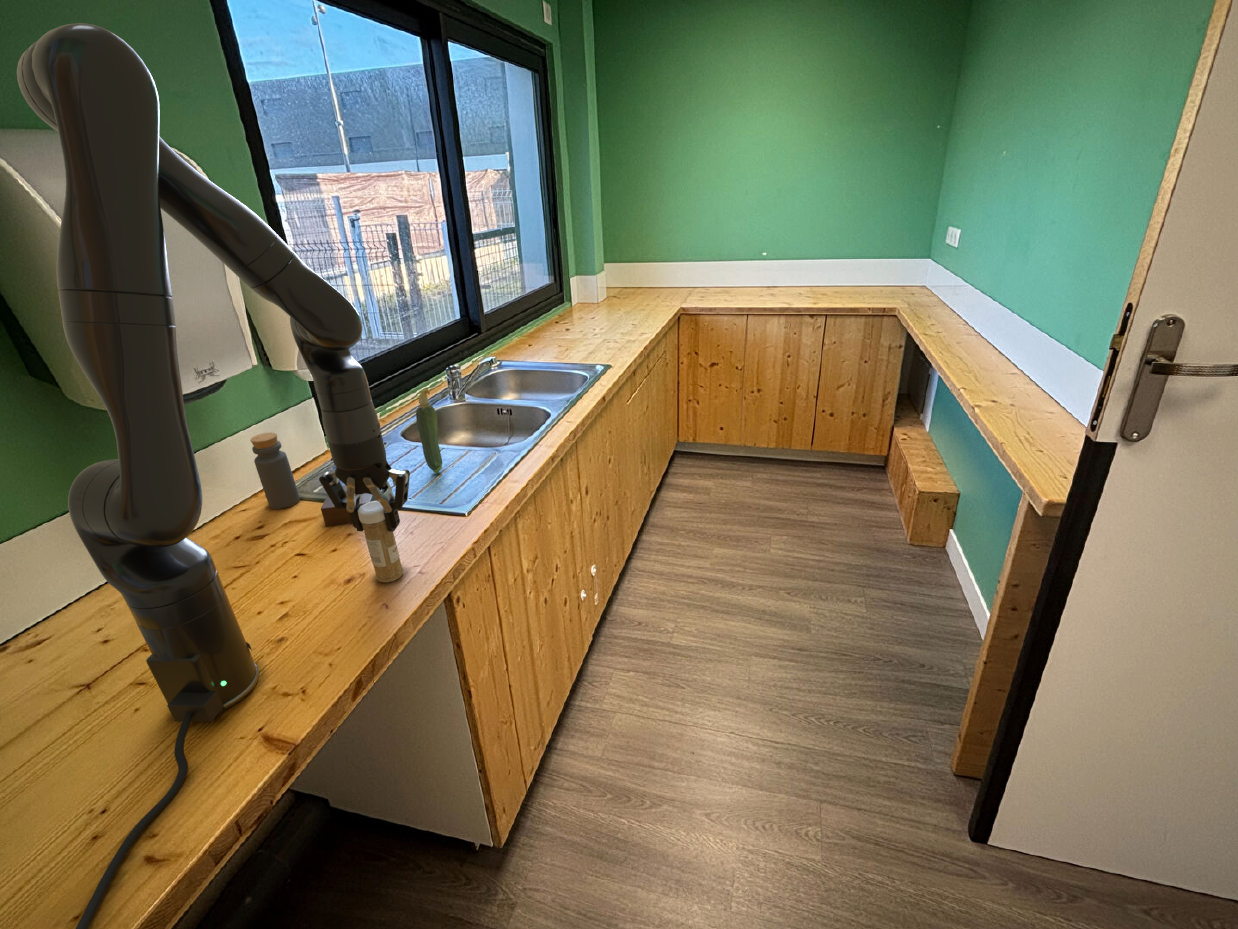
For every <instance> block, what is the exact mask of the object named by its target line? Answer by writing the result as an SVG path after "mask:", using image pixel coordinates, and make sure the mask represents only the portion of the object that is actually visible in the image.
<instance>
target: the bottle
mask: <svg viewBox="0 0 1238 929" xmlns="http://www.w3.org/2000/svg"><path fill="white" fill-rule="evenodd" d="M250 442H251V444H252V445H253V446H252V448H251V450H252V452H253V454H255V455H257V456H256V457H255V458H254V460H253V462H254V466H255V470H256V471H257V474H258V478H259V480H260V483H261V487H262V489H263V492H264V496H265V498H266V501H267V504H268V506H269V508H270V509H274V510H279V509H280V510H281V509H286V508H290V507H293V506H294V505H296V504H298V503H299V501H300V499H301V498H300V494H299V491H298V486H297V484H296V481H295V477H294V475H293V471H292V467H291V465H290V462H289V458H288V455H287V453H286V452H285V451H283V450H280V449H281V448H282V442H281V441H280V440H278V434H277V433H276V432H262V433H259V434H256V435H254V436H252V437H251V438H250Z"/></svg>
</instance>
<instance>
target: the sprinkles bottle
mask: <svg viewBox="0 0 1238 929" xmlns="http://www.w3.org/2000/svg"><path fill="white" fill-rule="evenodd" d="M384 512H385V510H384V508H383V507H382V505H381V504H380V502H378V501H372V502H368V503H365V504H363V505H362V506H361V507H360V508H359V509H358V515H359V519H360V521H361V523H362V526H363V529H364V530H363V534H364V538H365V542H366V546H367V549H368V554H369V556H370V560H371V563H372V565H373V570H374V573H375V579H376V581H377V582H380V583H392V582H395V581H397V580H398V579H400V578H401V577H402V576H403V574H404V568H403V565H402V563H401V558H400V552H399V549H398V545H397V541H396V537H395V533H394V532H389V531H388V527H387V523H386V519H385V515H384Z"/></svg>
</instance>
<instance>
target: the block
mask: <svg viewBox="0 0 1238 929" xmlns="http://www.w3.org/2000/svg"><path fill="white" fill-rule="evenodd" d="M342 487H343V489H344V490H345V492H347V486H346V485H342ZM372 501H376V499H375V498H374V496H373V494H367V493H364V494H362V495H361V503H360V506H362V505H363V504H365V503H368V502H372ZM320 512H321V515H322V518H323V521H324V522H323V523H324V526H325V527H332V526H341V525H346V524H352V521H351V517H350V514H349V512H348V511H347V510H346V509H343V508H341V509H337V508H335V506H334V504H333V503H332V501H331V499H330V498H329V496H328V494H327V495H326V497H325V499H324V501H323V503H322V505H321V507H320Z"/></svg>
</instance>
